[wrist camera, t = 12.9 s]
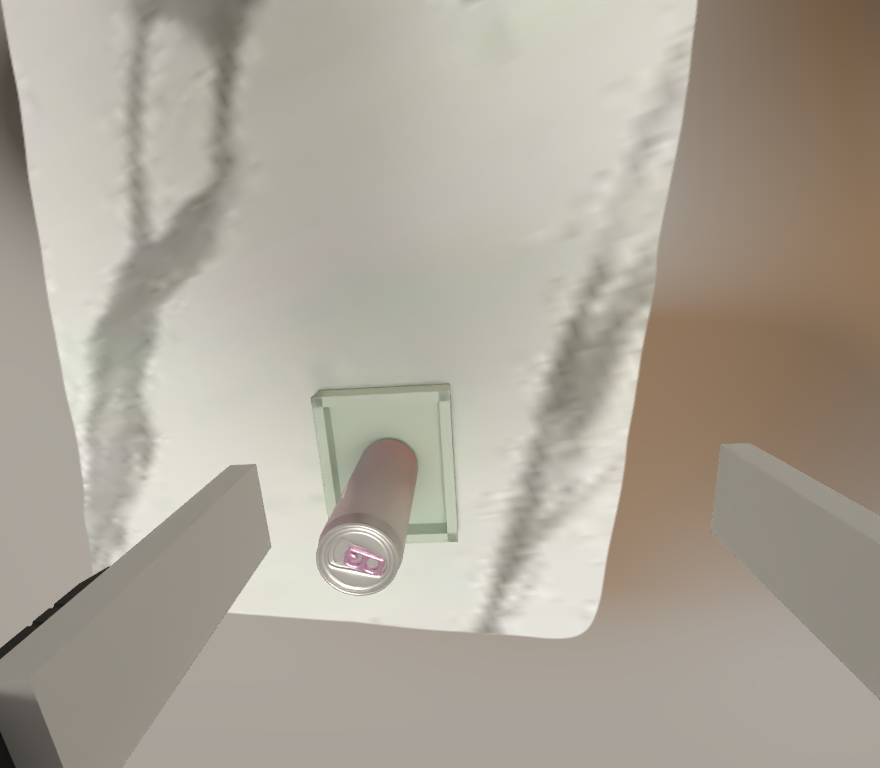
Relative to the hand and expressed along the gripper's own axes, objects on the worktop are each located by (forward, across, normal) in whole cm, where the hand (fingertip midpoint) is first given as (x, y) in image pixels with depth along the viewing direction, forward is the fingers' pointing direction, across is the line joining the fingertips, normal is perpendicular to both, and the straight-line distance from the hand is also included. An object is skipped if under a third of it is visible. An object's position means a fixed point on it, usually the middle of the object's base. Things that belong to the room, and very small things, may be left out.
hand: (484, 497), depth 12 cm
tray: (+29, -8, -12) cm, 32 cm away
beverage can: (+28, -8, -12) cm, 32 cm away
